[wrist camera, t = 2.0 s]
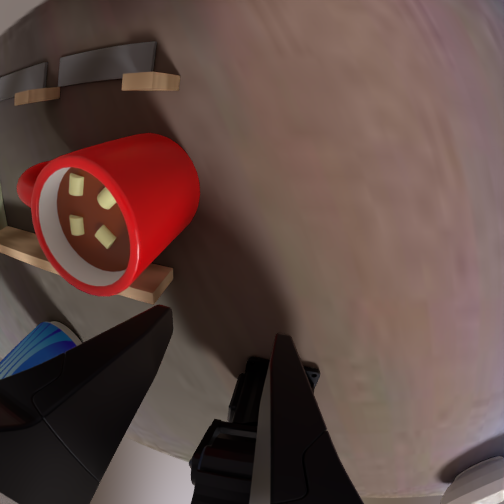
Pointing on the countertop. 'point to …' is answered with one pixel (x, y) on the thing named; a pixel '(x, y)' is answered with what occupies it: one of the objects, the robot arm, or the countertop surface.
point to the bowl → (478, 484)
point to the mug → (110, 208)
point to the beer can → (39, 347)
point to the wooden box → (34, 90)
